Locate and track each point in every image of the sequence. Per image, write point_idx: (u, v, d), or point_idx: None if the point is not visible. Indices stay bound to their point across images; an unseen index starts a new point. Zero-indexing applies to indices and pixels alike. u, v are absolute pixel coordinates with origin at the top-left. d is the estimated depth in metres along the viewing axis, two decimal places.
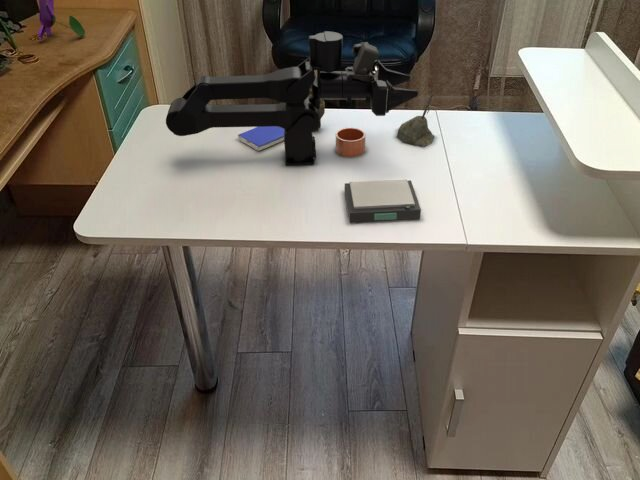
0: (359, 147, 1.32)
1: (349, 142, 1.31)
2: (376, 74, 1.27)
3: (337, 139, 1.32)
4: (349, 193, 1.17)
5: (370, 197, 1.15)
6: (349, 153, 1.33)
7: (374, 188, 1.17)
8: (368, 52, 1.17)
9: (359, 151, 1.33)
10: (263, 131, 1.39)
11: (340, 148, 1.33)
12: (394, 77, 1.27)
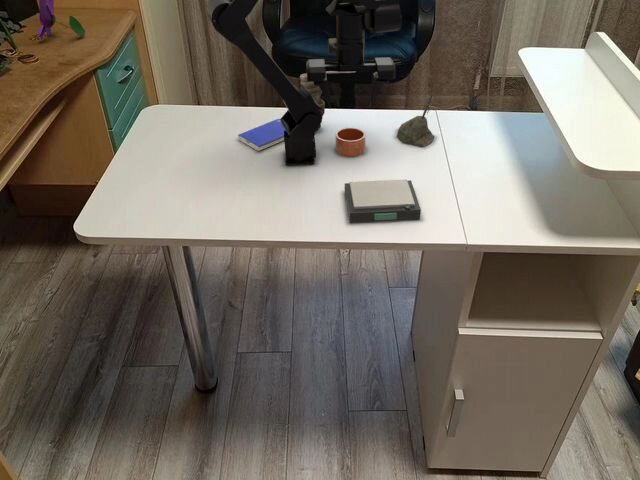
0: (359, 147, 1.32)
1: (349, 142, 1.31)
2: None
3: (337, 139, 1.32)
4: (349, 193, 1.17)
5: (370, 197, 1.15)
6: (349, 153, 1.33)
7: (374, 188, 1.17)
8: None
9: (359, 151, 1.33)
10: (263, 131, 1.39)
11: (340, 148, 1.33)
12: None
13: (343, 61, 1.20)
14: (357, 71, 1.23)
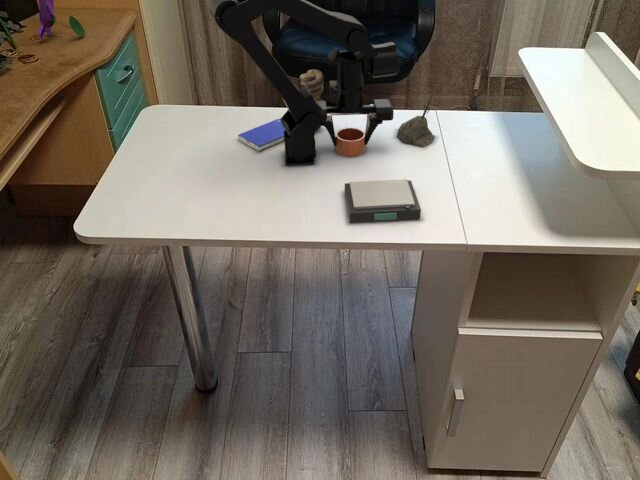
0: (359, 147, 1.32)
1: (349, 142, 1.31)
2: None
3: (337, 139, 1.32)
4: (349, 193, 1.17)
5: (370, 197, 1.15)
6: (349, 153, 1.33)
7: (374, 188, 1.17)
8: None
9: (359, 151, 1.33)
10: (263, 131, 1.39)
11: (340, 148, 1.33)
12: None
13: (344, 104, 1.26)
14: None
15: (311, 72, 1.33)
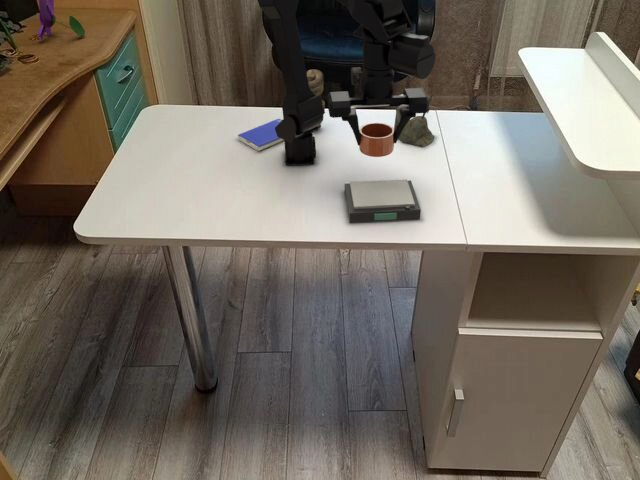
0: (388, 145, 1.12)
1: (376, 139, 1.10)
2: None
3: (361, 136, 1.12)
4: (349, 193, 1.17)
5: (370, 197, 1.15)
6: (376, 152, 1.12)
7: (374, 188, 1.17)
8: None
9: (387, 150, 1.13)
10: (263, 131, 1.39)
11: (365, 147, 1.12)
12: None
13: (371, 94, 1.06)
14: None
15: (311, 72, 1.33)
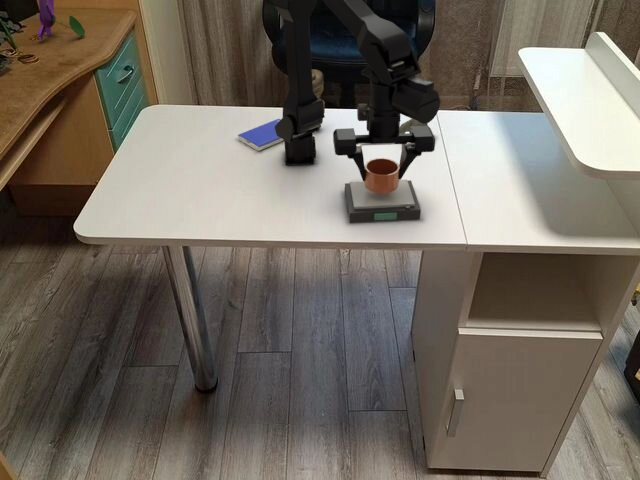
0: (393, 182, 1.12)
1: (381, 177, 1.10)
2: None
3: (367, 173, 1.12)
4: (349, 193, 1.17)
5: (370, 197, 1.15)
6: (381, 189, 1.12)
7: None
8: None
9: (392, 187, 1.12)
10: (263, 131, 1.39)
11: (370, 183, 1.12)
12: None
13: (377, 133, 1.05)
14: None
15: None
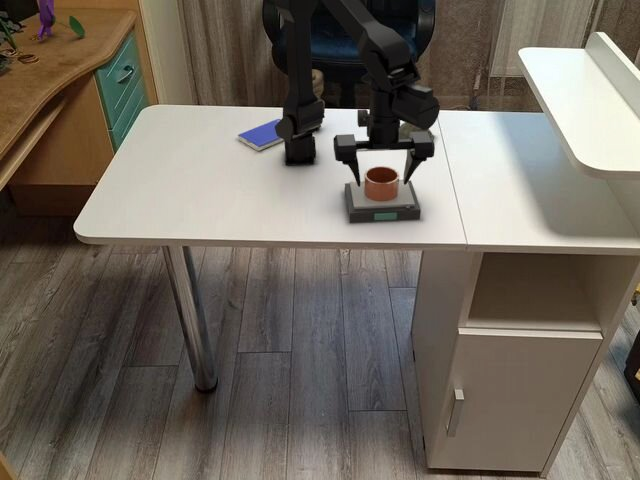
0: (392, 190, 1.13)
1: (381, 185, 1.11)
2: None
3: (366, 181, 1.13)
4: (349, 193, 1.17)
5: None
6: (380, 197, 1.13)
7: None
8: None
9: (392, 195, 1.14)
10: (263, 131, 1.39)
11: (370, 191, 1.13)
12: None
13: (377, 139, 1.06)
14: (391, 148, 1.10)
15: None
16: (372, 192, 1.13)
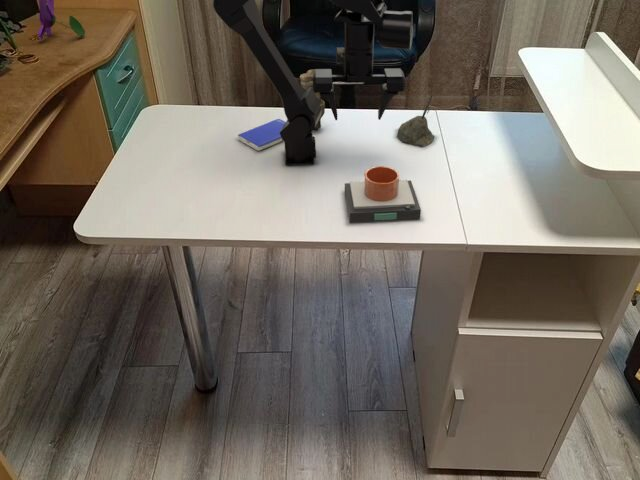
0: (392, 190, 1.13)
1: (381, 185, 1.11)
2: None
3: (366, 181, 1.13)
4: (349, 193, 1.17)
5: None
6: (380, 197, 1.13)
7: None
8: None
9: (392, 195, 1.14)
10: (263, 131, 1.39)
11: (370, 191, 1.13)
12: None
13: (351, 72, 1.15)
14: (365, 82, 1.18)
15: (311, 72, 1.33)
16: (372, 192, 1.13)
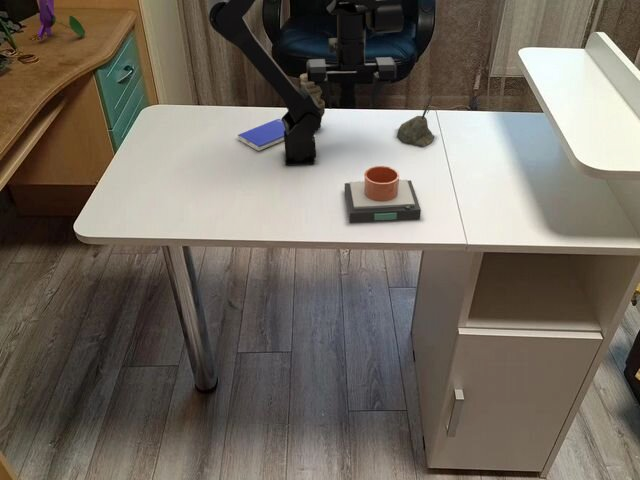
0: (392, 190, 1.13)
1: (381, 185, 1.11)
2: None
3: (366, 181, 1.13)
4: (349, 193, 1.17)
5: None
6: (380, 197, 1.13)
7: None
8: None
9: (392, 195, 1.14)
10: (263, 131, 1.39)
11: (370, 191, 1.13)
12: None
13: (344, 61, 1.19)
14: (358, 71, 1.22)
15: None
16: (372, 192, 1.13)
